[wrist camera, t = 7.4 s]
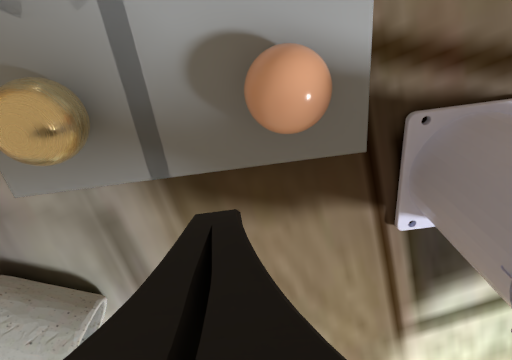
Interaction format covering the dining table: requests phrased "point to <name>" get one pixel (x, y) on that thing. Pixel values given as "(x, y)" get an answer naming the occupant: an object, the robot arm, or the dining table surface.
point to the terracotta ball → (288, 88)
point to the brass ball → (41, 121)
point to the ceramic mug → (45, 319)
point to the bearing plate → (180, 83)
